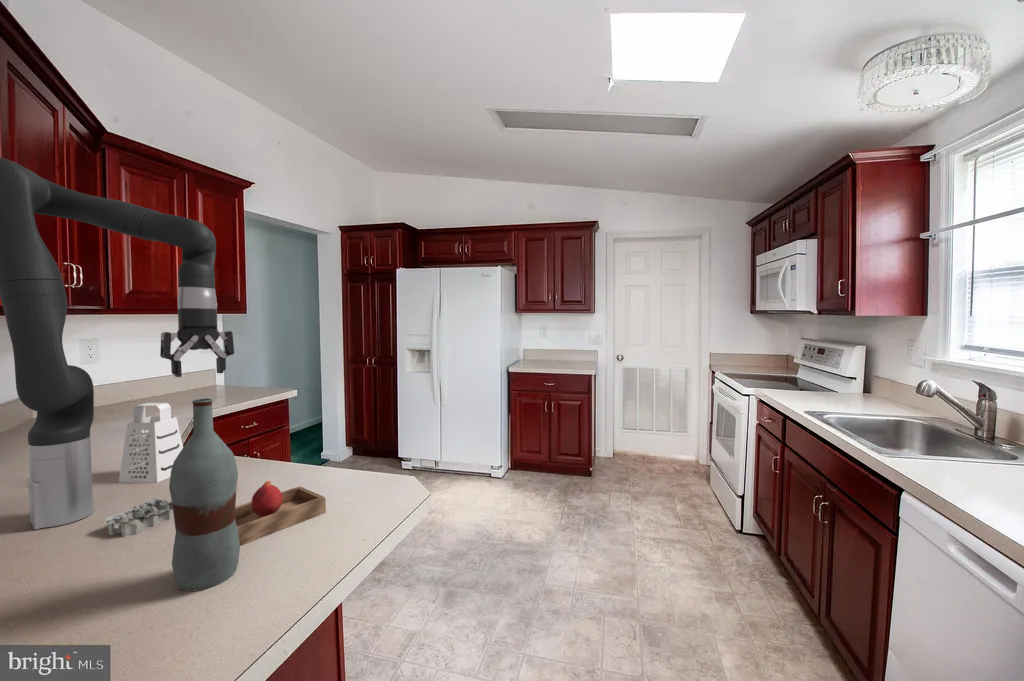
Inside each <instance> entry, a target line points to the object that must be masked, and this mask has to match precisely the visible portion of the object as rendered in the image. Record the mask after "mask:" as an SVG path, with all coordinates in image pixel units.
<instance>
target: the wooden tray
mask: <svg viewBox="0 0 1024 681" xmlns="http://www.w3.org/2000/svg"><path fill="white" fill-rule="evenodd" d="M281 493H282V496H283V501H282V505H281V507H280V508H279V509H278V510H277V511H276V512H275V513H274V514H271V515H268V516H265V517H261V516H259V515H257V514H256V513H254V511H253V510H252V507H251V502H252V501H249V502H246V503H243V504H239V505H235V521H236V526H237V530H238V536H239V542H240V546H243V545H245V544H248V543H251V542H253V541H255V540H259V539H260V538H263V536H264V537H266V536H269V535H272V534H274V533H276V531H277V532H279V531H282V530H284V528H285V529H288V528H289V527H293V526H295V525H297V524H299V523H302V522H304V521H307V520H311V519H313V518H316V517H318V516H321V515H323V514H322V513H324V514H326V513H327V512H326V511H327V508H326V506H327V505H326V502H327V501H326V500H327V499H326V497H325V496H323V495H321V494H318V493H316V492H314V491H312V490H309V489H307V488H305V487H303V486H296V487H293V488H290V489H288V490H283V491H281ZM325 512H326V513H325ZM320 514H321V515H320ZM317 515H318V516H317ZM315 516H316V517H315ZM271 533H272V534H271ZM268 534H269V535H268ZM258 538H259V539H258Z"/></svg>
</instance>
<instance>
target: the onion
mask: <svg viewBox="0 0 1024 681" xmlns="http://www.w3.org/2000/svg"><path fill="white" fill-rule="evenodd" d="M271 483H272V481H271V480H265V482H264V483H263V484H262V486H260V487H259V488H258V489H257V490H256V491H255V492H254V493H253V495H252V497H251V501H250V502H251V507H252V510H253V511H254V513H256V514H257V515H259V516H261V517H265V516H268V515H271V514H274V513H275V512H276V511H277V510H278V509H279V508H280V507H281V505H282V501H283V496H282V493H281V492H282V491H281V490H280V489H279V488H278V487H277V486H275V485H273V484H271Z"/></svg>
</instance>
